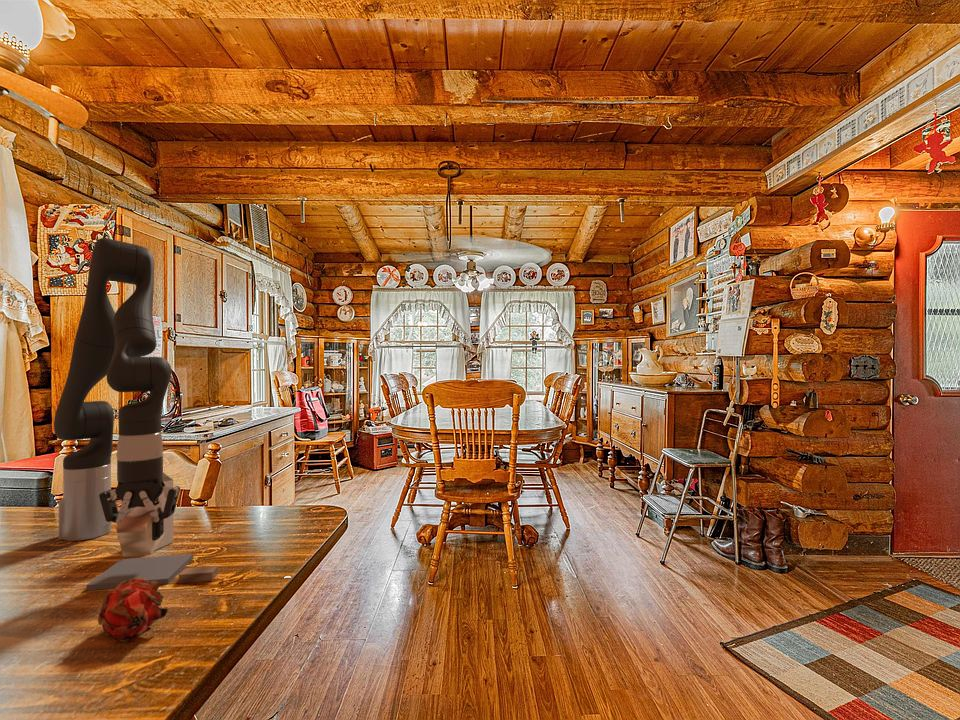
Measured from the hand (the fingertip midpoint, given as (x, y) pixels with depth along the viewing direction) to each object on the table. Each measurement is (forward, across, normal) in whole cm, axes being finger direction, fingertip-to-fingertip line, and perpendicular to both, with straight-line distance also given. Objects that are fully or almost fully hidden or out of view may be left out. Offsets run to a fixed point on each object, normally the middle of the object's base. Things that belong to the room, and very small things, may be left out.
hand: (140, 539), depth 95 cm
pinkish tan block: (+3, 0, 0) cm, 3 cm away
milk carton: (+7, +6, -16) cm, 19 cm away
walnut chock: (+7, -12, +3) cm, 14 cm away
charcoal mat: (+7, 0, -1) cm, 7 cm away
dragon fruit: (+8, -9, +22) cm, 25 cm away
